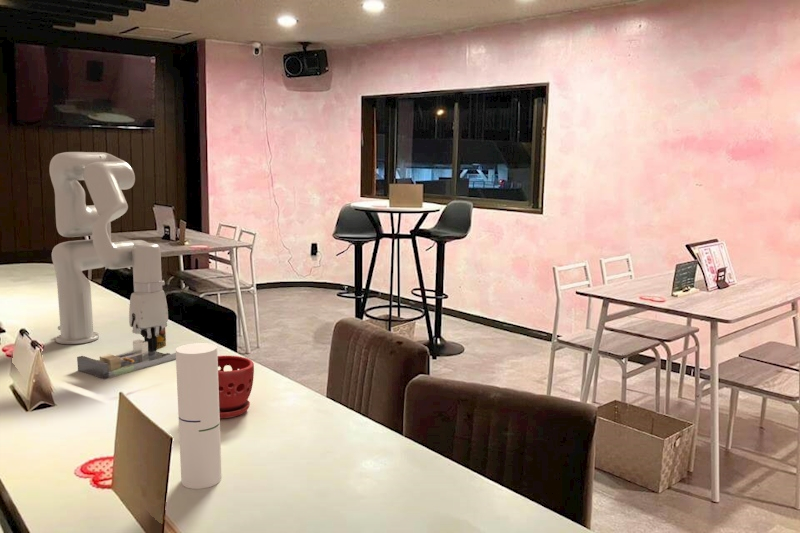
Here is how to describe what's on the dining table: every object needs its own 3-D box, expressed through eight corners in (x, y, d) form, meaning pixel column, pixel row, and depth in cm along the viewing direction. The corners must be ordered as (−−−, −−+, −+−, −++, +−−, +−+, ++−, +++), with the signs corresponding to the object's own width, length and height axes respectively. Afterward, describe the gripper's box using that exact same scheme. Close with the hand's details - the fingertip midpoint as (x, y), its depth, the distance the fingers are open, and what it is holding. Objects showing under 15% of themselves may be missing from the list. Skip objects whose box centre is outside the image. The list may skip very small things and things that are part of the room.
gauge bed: (78, 374, 190) (77, 357, 189) (154, 354, 209) (153, 338, 208) (104, 383, 183) (102, 364, 182) (180, 361, 202) (179, 344, 202)
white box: (110, 365, 194) (109, 345, 193) (138, 357, 201) (137, 339, 200) (127, 370, 189) (126, 350, 188) (155, 362, 196) (154, 343, 196)
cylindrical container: (185, 471, 133) (180, 343, 129) (224, 470, 134) (220, 342, 130) (177, 489, 126) (171, 354, 122) (218, 488, 127) (213, 353, 123)
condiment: (170, 350, 214) (168, 312, 212) (141, 355, 209) (139, 315, 207) (163, 345, 220) (161, 307, 218) (135, 349, 215) (133, 310, 213)
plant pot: (203, 426, 155) (201, 374, 153) (191, 407, 167) (189, 358, 165) (261, 416, 161) (260, 366, 159) (246, 399, 173) (244, 351, 171)
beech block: (100, 369, 191) (99, 356, 191) (110, 366, 194) (109, 354, 193) (111, 372, 188) (110, 359, 188) (121, 369, 191) (120, 357, 190)
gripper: (162, 282, 206) (164, 342, 209) (116, 289, 194) (119, 354, 197) (178, 284, 202) (181, 346, 205) (132, 293, 190) (136, 358, 193)
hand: (151, 350), depth 201 cm, fingers closed
